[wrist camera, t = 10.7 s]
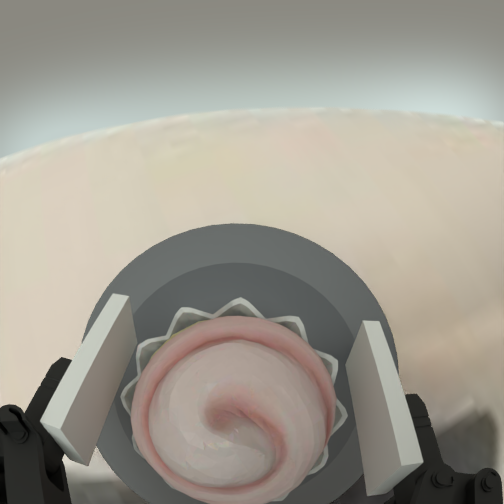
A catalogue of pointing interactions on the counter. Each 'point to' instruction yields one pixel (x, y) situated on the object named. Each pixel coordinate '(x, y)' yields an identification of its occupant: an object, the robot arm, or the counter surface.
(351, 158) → the counter surface
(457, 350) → the counter surface
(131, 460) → the slate plate
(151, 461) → the cupcake
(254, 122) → the counter surface
